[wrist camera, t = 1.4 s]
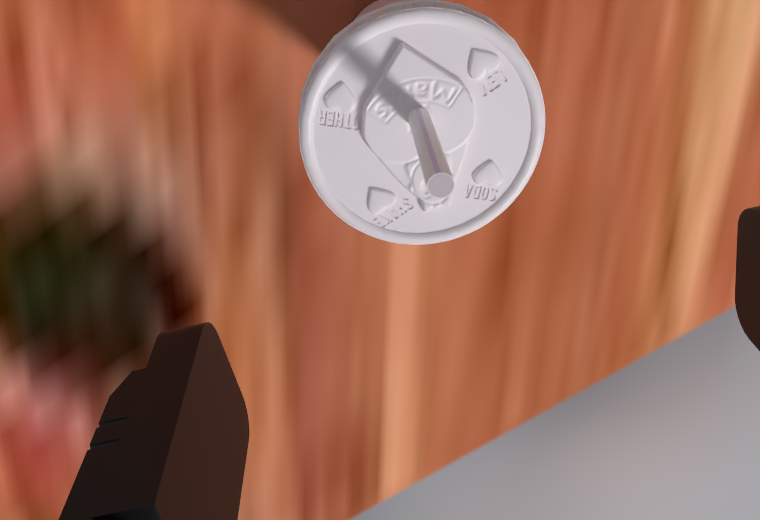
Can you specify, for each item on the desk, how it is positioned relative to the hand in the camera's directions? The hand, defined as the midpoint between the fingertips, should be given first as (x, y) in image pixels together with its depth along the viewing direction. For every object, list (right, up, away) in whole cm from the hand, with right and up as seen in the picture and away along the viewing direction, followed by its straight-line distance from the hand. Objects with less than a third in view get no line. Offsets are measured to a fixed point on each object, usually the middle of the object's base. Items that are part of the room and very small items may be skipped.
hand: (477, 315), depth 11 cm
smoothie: (-1, +9, +16) cm, 18 cm away
